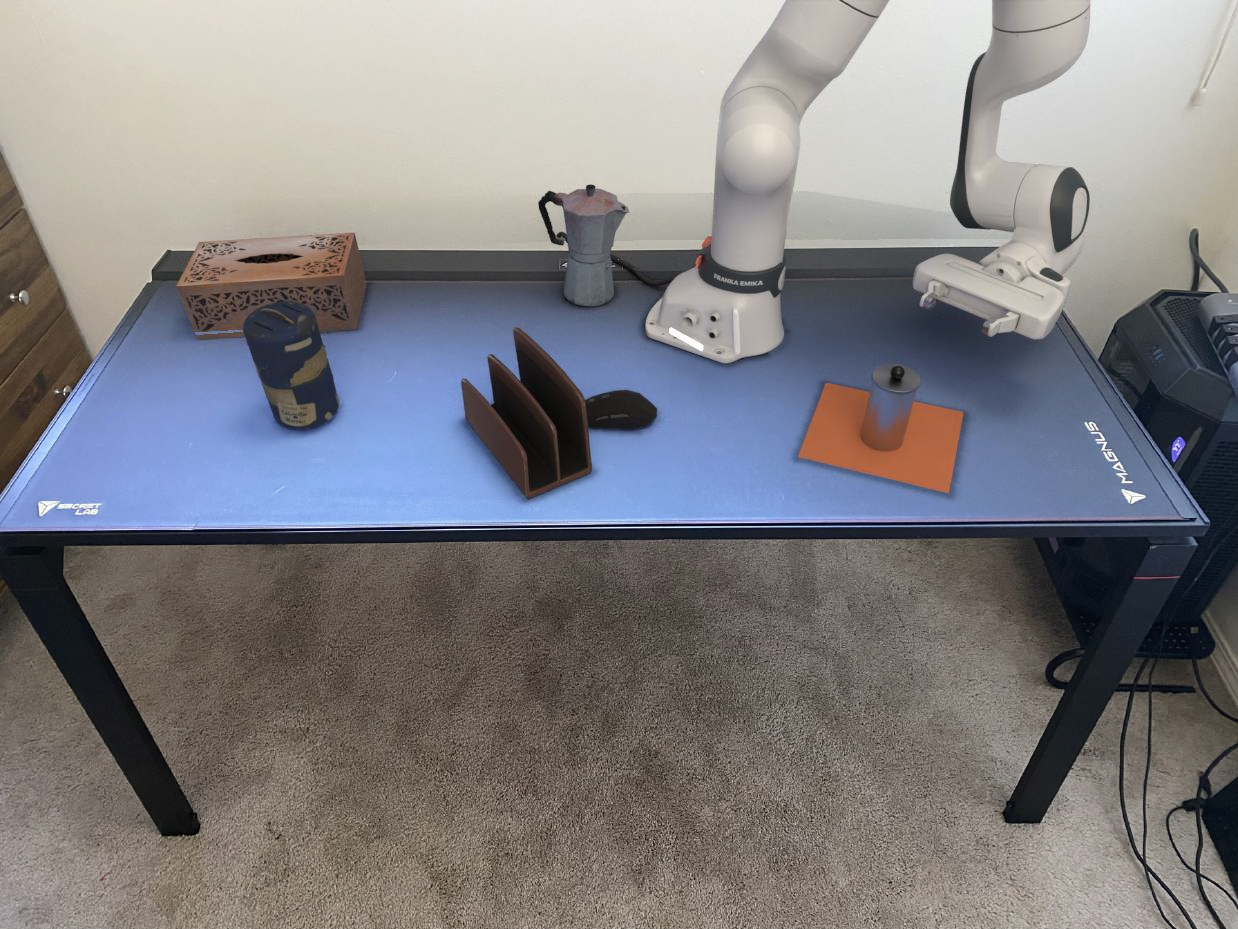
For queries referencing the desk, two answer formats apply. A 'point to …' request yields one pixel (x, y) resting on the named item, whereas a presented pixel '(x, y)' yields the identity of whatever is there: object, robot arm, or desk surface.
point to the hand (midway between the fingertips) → (955, 316)
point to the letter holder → (532, 419)
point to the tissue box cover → (273, 281)
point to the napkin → (914, 462)
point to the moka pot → (587, 241)
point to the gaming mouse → (619, 410)
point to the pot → (889, 406)
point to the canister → (292, 364)
